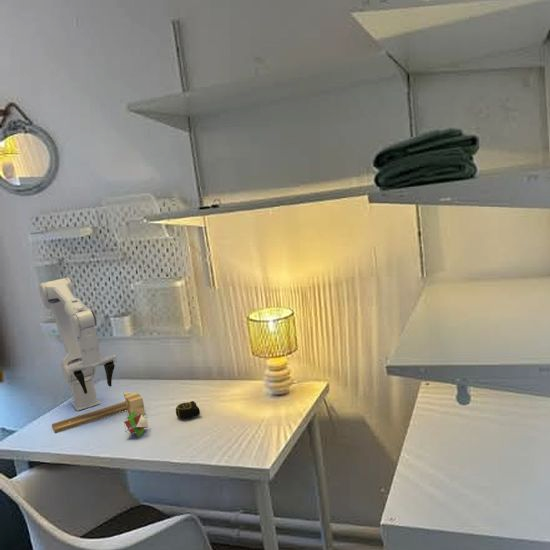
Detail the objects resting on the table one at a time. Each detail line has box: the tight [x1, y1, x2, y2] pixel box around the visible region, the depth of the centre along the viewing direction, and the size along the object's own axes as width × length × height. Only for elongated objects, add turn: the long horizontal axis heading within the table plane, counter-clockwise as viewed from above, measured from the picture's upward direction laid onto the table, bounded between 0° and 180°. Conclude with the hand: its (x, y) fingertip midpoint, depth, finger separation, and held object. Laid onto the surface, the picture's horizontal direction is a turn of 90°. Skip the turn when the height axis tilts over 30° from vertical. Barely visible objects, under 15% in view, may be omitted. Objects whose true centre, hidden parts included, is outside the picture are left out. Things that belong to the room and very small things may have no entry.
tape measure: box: [175, 400, 201, 420], centre depth 183 cm, size 7×7×4 cm
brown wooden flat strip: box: [51, 400, 127, 434], centre depth 194 cm, size 6×28×1 cm, turn 119°
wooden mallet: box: [123, 391, 147, 416], centre depth 193 cm, size 13×4×6 cm, turn 29°
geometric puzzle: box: [123, 411, 149, 438], centre depth 175 cm, size 7×7×8 cm
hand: (97, 389), depth 191 cm, fingers open, 7 cm apart
